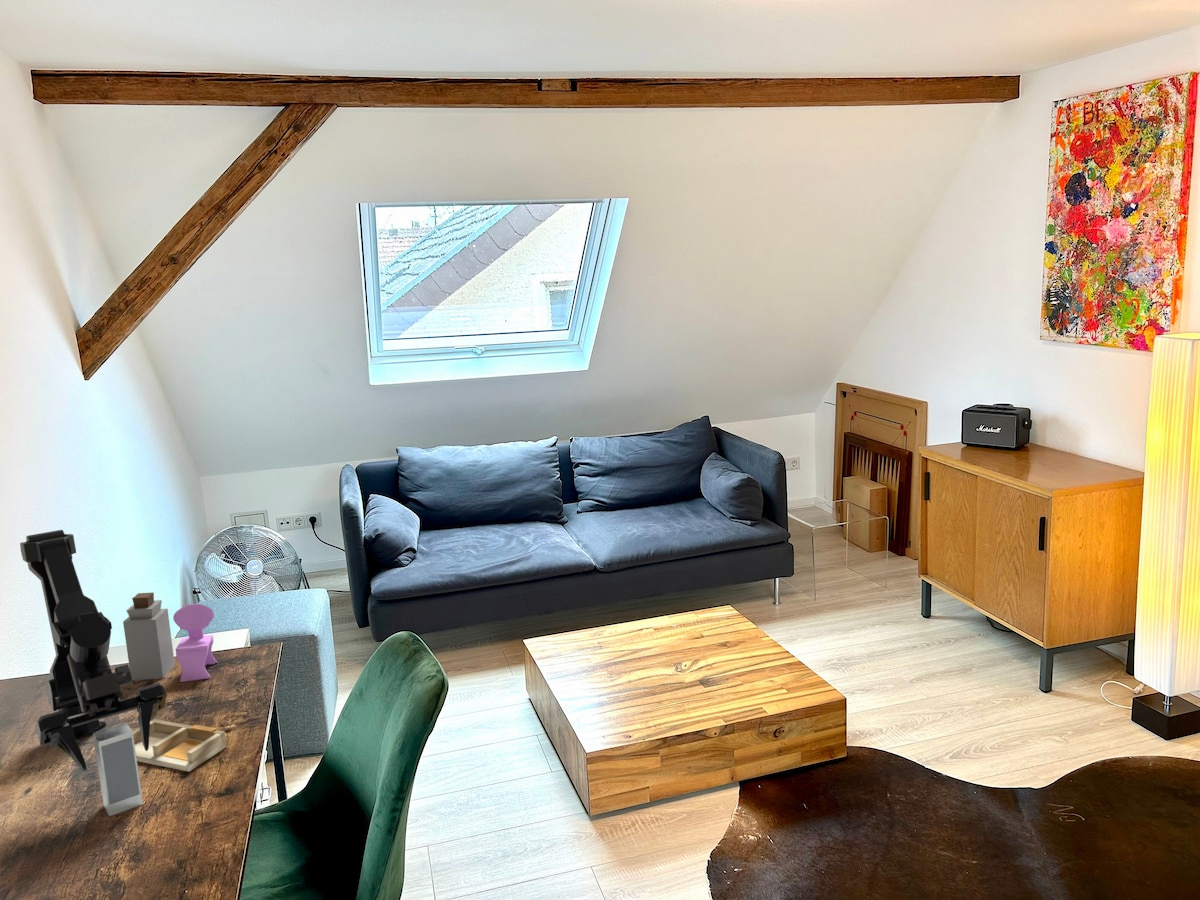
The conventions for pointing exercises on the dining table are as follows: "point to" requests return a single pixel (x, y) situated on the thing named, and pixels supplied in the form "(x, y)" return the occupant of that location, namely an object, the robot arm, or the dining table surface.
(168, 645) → the perfume bottle
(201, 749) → the cream divided tray
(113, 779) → the brushed steel block
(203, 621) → the toy chair
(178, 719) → the dining table surface
